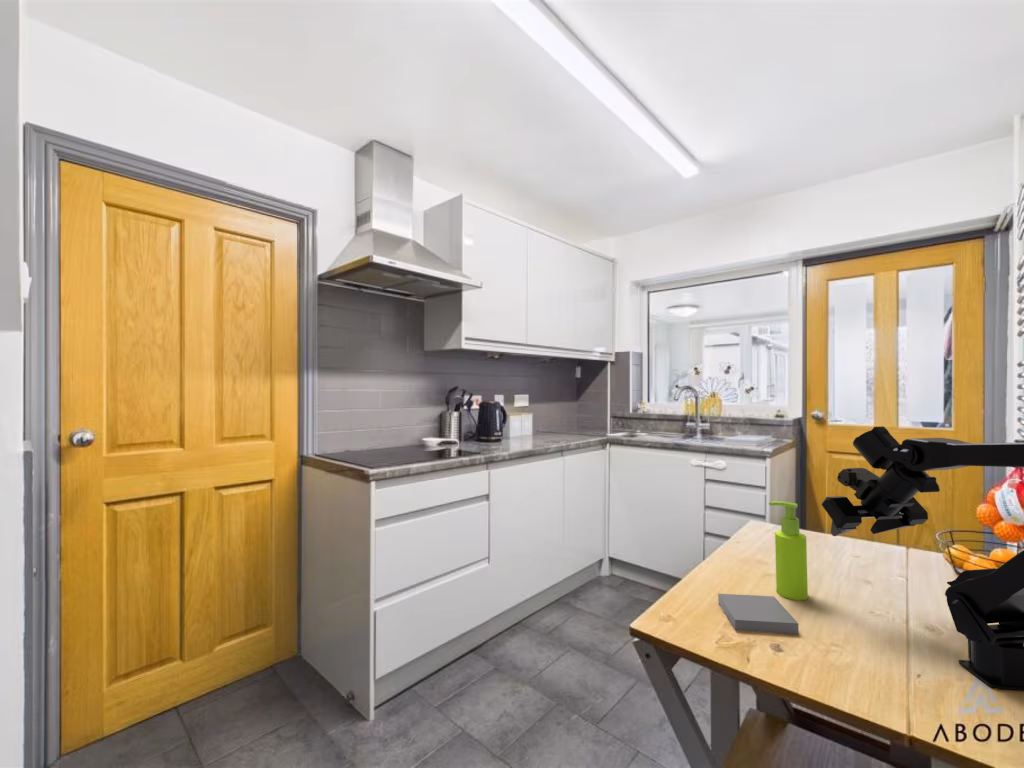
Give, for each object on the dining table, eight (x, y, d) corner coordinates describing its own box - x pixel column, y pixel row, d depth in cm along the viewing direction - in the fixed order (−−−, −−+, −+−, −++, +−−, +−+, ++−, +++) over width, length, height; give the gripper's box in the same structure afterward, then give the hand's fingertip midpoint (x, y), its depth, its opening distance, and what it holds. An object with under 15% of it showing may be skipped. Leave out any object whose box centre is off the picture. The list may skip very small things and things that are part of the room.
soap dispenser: (773, 584, 105) (771, 497, 106) (809, 592, 101) (807, 502, 101) (768, 594, 101) (766, 503, 101) (805, 602, 96) (803, 507, 97)
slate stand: (798, 634, 84) (798, 623, 84) (735, 630, 86) (734, 619, 86) (774, 605, 95) (774, 596, 95) (718, 603, 97) (718, 593, 97)
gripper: (908, 454, 95) (867, 499, 105) (824, 457, 93) (790, 503, 103) (952, 499, 86) (903, 544, 96) (861, 503, 84) (820, 548, 94)
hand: (852, 533), depth 98 cm, fingers open, 9 cm apart
